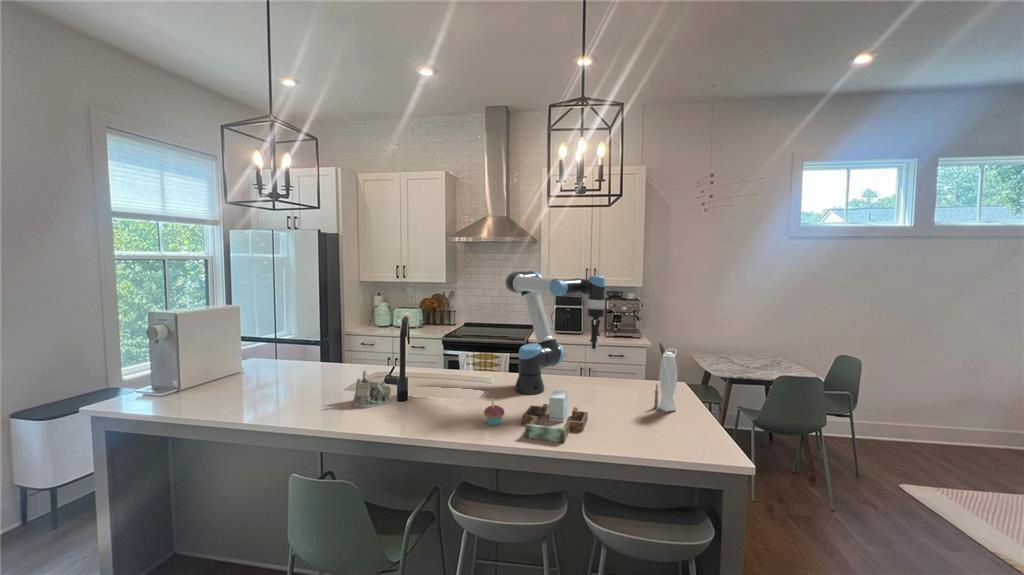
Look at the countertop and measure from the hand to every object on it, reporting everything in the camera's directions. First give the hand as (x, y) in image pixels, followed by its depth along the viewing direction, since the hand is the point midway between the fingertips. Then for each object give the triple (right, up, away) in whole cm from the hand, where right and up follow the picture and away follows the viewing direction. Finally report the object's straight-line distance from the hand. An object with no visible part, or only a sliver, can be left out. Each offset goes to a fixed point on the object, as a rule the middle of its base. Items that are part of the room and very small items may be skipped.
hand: (594, 352), depth 207 cm
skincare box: (-20, -25, -21) cm, 38 cm away
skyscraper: (+31, -25, -10) cm, 41 cm away
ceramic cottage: (-106, -24, -5) cm, 108 cm away
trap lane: (-23, -26, -30) cm, 46 cm away
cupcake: (-47, -26, -28) cm, 60 cm away
